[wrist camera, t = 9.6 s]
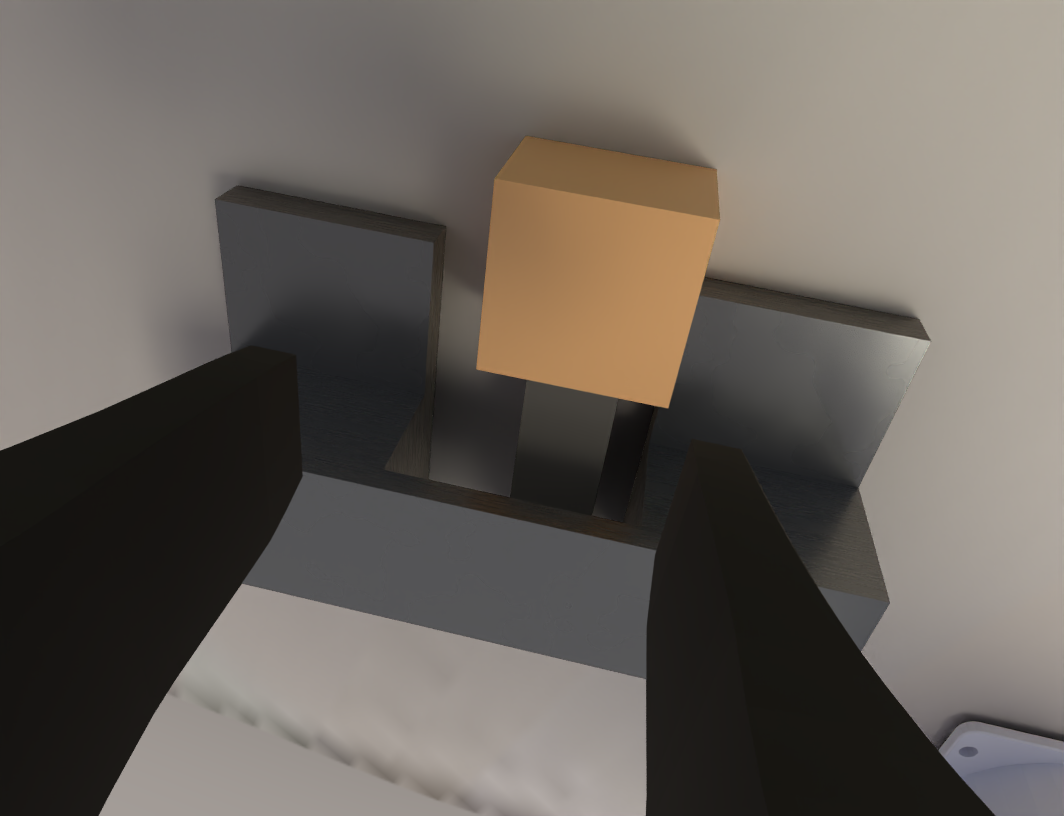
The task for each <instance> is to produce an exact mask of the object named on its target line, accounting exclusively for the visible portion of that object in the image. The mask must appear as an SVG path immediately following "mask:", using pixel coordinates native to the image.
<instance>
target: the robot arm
mask: <svg viewBox="0 0 1064 816" xmlns="http://www.w3.org/2000/svg"><path fill="white" fill-rule="evenodd" d="M302 477H303V471H302V453H301V434H300V416H299V397H298V379H297V360H296V355H295V354H290V353H286V352H281V351H276V350H271V349H267V348H262V347H257V346H253V345H251V346H248V347H245V348H243V349H240V350H237V351H235V352H232V353H230V354H227V355H225V356H222V357H220V358H218V359H215V360H213V361H211V362H208V363H206V364H204V365H202V366H199V367H197V368H195V369H193V370H190V371H188V372H186V373H184V374H182V375H179V376H177V377H175V378H173V379H171V380H168V381H166V382H164V383H162V384H159V385H157V386H155V387H153V388H150V389H148V390H146V391H144V392H141V393H139V394H137V395H135V396H132V397H130V398H128V399H126V400H123V401H121V402H119V403H117V404H114V405H112V406H110V407H108V408H105V409H103V410H101V411H98V412H96V413H94V414H91V415H89V416H86V417H84V418H81V419H79V420H76V421H74V422H71V423H69V424H66V425H64V426H61V427H59V428H56V429H54V430H51V431H49V432H46V433H44V434H41V435H39V436H36V437H34V438H31V439H29V440H26V441H24V442H21V443H19V444H17V445H14V446H12V447H9V448H6V449H4V450H1V451H0V816H99V814H100V812H101V810H102V808H103V806H104V804H105V802H106V800H107V798H108V796H109V794H110V793H111V791H112V789H113V787H114V785H115V783H116V782H117V780H118V778H119V776H120V774H121V772H122V771H123V769H124V767H125V765H126V763H127V761H128V760H129V758H130V756H131V754H132V752H133V751H134V749H135V747H136V745H137V743H138V742H139V740H140V738H141V736H142V734H143V733H144V731H145V729H146V727H147V725H148V723H149V722H150V720H151V718H152V716H153V714H154V713H155V711H156V710H157V708H158V707H159V705H160V703H161V702H162V700H163V699H164V697H165V695H166V694H167V692H168V691H169V689H170V688H171V686H172V684H173V683H174V681H175V680H176V678H177V677H178V675H179V674H180V672H181V671H182V670H183V668H184V667H185V665H186V664H187V662H188V661H189V659H190V658H191V656H192V655H193V654H194V652H195V651H196V649H197V648H198V646H199V645H200V643H201V642H202V641H203V639H204V638H205V636H206V635H207V633H208V632H209V630H210V629H211V627H212V626H213V625H214V623H215V622H216V620H217V619H218V617H219V616H220V614H221V613H222V612H223V610H224V609H225V607H226V606H227V604H228V603H229V601H230V600H231V599H232V597H233V596H234V594H235V593H236V591H237V590H238V588H239V587H240V585H241V584H242V582H243V581H244V580H245V578H246V577H247V575H248V574H249V572H250V571H251V569H252V568H253V566H254V565H255V563H256V562H257V560H258V559H259V557H260V556H261V554H262V553H263V551H264V550H265V548H266V547H267V545H268V544H269V542H270V541H271V539H272V537H273V535H274V533H275V531H276V530H277V528H278V526H279V524H280V522H281V520H282V518H283V516H284V514H285V512H286V510H287V508H288V506H289V504H290V502H291V500H292V498H293V496H294V494H295V492H296V489H297V487H298V485H299V483H300V481H301V479H302ZM646 759H647V800H646V816H1064V742H1063V741H1059V740H1055V739H1050V738H1046V737H1042V736H1037V735H1033V734H1029V733H1024V732H1020V731H1016V730H1012V729H1007V728H1003V727H999V726H994V725H990V724H986V723H982V722H975V721H970V722H965V723H962V724H960V725H959V726H958V727H956V728H955V730H954V731H953V732H952V733H951V735H950V736H949V737H948V739H947V740H946V741H945V742H944V744H943V745H942V746H941V748H940V749H939V750H937V749H936V748H935V747H934V745H933V744H932V743H931V742H930V741H929V739H928V738H927V737H926V736H925V734H924V733H923V732H922V731H921V729H920V728H919V727H918V726H917V724H916V723H915V722H914V721H913V719H912V718H911V717H910V715H909V714H908V713H907V712H906V710H905V709H904V708H903V707H902V705H901V704H900V703H899V702H898V700H897V699H896V698H895V697H894V695H893V694H892V693H891V692H890V690H889V689H888V688H887V687H886V685H885V684H884V683H883V681H882V680H881V679H880V677H879V676H878V675H877V673H876V672H875V671H874V669H873V668H872V667H871V665H870V664H869V663H868V661H867V660H866V658H865V657H864V656H863V654H862V653H861V651H860V650H859V648H858V647H857V646H856V644H855V643H854V641H853V640H852V638H851V637H850V635H849V634H848V632H847V631H846V629H845V628H844V626H843V625H842V623H841V622H840V620H839V619H838V617H837V616H836V614H835V613H834V611H833V610H832V608H831V607H830V605H829V603H828V602H827V600H826V599H825V597H824V596H823V594H822V593H821V591H820V589H819V588H818V586H817V584H816V583H815V581H814V579H813V578H812V576H811V574H810V573H809V571H808V569H807V568H806V566H805V564H804V563H803V561H802V559H801V558H800V556H799V554H798V553H797V551H796V549H795V548H794V546H793V544H792V542H791V541H790V539H789V537H788V535H787V533H786V532H785V530H784V528H783V526H782V524H781V523H780V521H779V519H778V517H777V515H776V513H775V512H774V510H773V508H772V506H771V504H770V502H769V500H768V498H767V497H766V495H765V493H764V491H763V489H762V487H761V485H760V483H759V481H758V479H757V477H756V475H755V473H754V471H753V470H752V468H751V466H750V464H749V462H748V460H747V458H746V457H745V455H744V453H743V452H742V450H741V449H738V448H733V447H728V446H724V445H719V444H714V443H709V442H705V441H700V440H695V439H692V440H691V443H690V446H689V449H688V452H687V455H686V459H685V462H684V465H683V468H682V471H681V474H680V478H679V481H678V484H677V487H676V490H675V493H674V497H673V500H672V503H671V506H670V509H669V512H668V516H667V519H666V522H665V525H664V528H663V531H662V534H661V538H660V541H659V544H658V547H657V550H656V553H655V558H654V567H653V575H652V583H651V591H650V600H649V609H648V618H647V630H646Z"/></svg>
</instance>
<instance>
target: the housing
mask: <svg viewBox="0 0 1064 816" xmlns="http://www.w3.org/2000/svg"><path fill="white" fill-rule="evenodd" d="M215 205H216V214H217V223H218V232H219V241H220V250H221V259H222V268H223V277H224V286H225V295H226V304H227V313H228V323H229V332H230V341H231V350H232V352H235V351H237V350H240V349H243V348H245V347H248V346H251V345H253V346H257V347H262V348H267V349H271V350H276V351H281V352H286V353H290V354H295V355H296V360H297V379H298V397H299V416H300V434H301V453H302V471H303V477H302V479H301V481H300V483H299V485H298V487H297V489H296V492H295V494H294V496H293V498H292V500H291V502H290V504H289V506H288V508H287V510H286V512H285V514H284V516H283V518H282V520H281V522H280V524H279V526H278V528H277V530H276V531H275V533H274V535H273V537H272V539H271V541H270V542H269V544H268V545H267V547H266V548H265V550H264V551H263V553H262V554H261V556H260V557H259V559H258V560H257V562H256V563H255V565H254V566H253V568H252V569H251V571H250V572H249V574H248V575H247V577H246V578H245V580H244V581H243V582H242V584H246V585H250V586H255V587H259V588H263V589H267V590H272V591H276V592H280V593H284V594H288V595H293V596H297V597H301V598H305V599H310V600H314V601H318V602H322V603H327V604H331V605H335V606H339V607H343V608H348V609H352V610H356V611H360V612H365V613H369V614H373V615H377V616H382V617H386V618H390V619H394V620H398V621H403V622H407V623H411V624H415V625H420V626H424V627H428V628H432V629H437V630H441V631H445V632H449V633H453V634H458V635H462V636H466V637H470V638H475V639H479V640H483V641H487V642H492V643H496V644H500V645H504V646H508V647H513V648H517V649H521V650H525V651H530V652H534V653H538V654H542V655H547V656H551V657H555V658H559V659H563V660H568V661H572V662H576V663H580V664H585V665H589V666H593V667H597V668H602V669H606V670H610V671H614V672H618V673H623V674H627V675H631V676H635V677H640V678H644V679H646V630H647V618H648V609H649V600H650V591H651V583H652V575H653V567H654V558H655V553H656V550H657V547H658V544H659V541H660V538H661V534H662V531H663V528H664V525H665V522H666V519H667V516H668V512H669V509H670V506H671V503H672V500H673V497H674V493H675V490H676V487H677V484H678V481H679V478H680V474H681V471H682V468H683V465H684V462H685V459H686V455H687V452H688V449H689V446H690V443H691V440H692V439H695V440H700V441H705V442H709V443H714V444H719V445H724V446H728V447H733V448H738V449H741V450H742V452H743V453H744V455H745V457H746V458H747V460H748V462H749V464H750V466H751V468H752V470H753V471H754V473H755V475H756V477H757V479H758V481H759V483H760V485H761V487H762V489H763V491H764V493H765V495H766V497H767V498H768V500H769V502H770V504H771V506H772V508H773V510H774V512H775V513H776V515H777V517H778V519H779V521H780V523H781V524H782V526H783V528H784V530H785V532H786V533H787V535H788V537H789V539H790V541H791V542H792V544H793V546H794V548H795V549H796V551H797V553H798V554H799V556H800V558H801V559H802V561H803V563H804V564H805V566H806V568H807V569H808V571H809V573H810V574H811V576H812V578H813V579H814V581H815V583H816V584H817V586H818V588H819V589H820V591H821V593H822V594H823V596H824V597H825V599H826V600H827V602H828V603H829V605H830V607H831V608H832V610H833V611H834V613H835V614H836V616H837V617H838V619H839V620H840V622H841V623H842V625H843V626H844V628H845V629H846V631H847V632H848V634H849V635H850V637H851V638H852V640H853V641H854V643H855V644H856V646H857V647H858V648H859V650H860V651H862V649H863V647H864V646H865V644H866V642H867V641H868V639H869V637H870V635H871V634H872V632H873V630H874V629H875V627H876V625H877V624H878V622H879V620H880V619H881V617H882V615H883V614H884V612H885V610H886V609H887V607H888V605H889V604H890V601H889V597H888V594H887V590H886V586H885V583H884V579H883V576H882V572H881V568H880V565H879V561H878V557H877V554H876V550H875V546H874V543H873V539H872V535H871V532H870V528H869V524H868V521H867V517H866V513H865V510H864V506H863V502H862V499H861V495H860V492H859V488H858V487H859V485H860V483H861V481H862V479H863V477H864V475H865V473H866V471H867V469H868V467H869V465H870V463H871V461H872V459H873V457H874V455H875V453H876V451H877V449H878V447H879V445H880V443H881V441H882V439H883V437H884V435H885V433H886V431H887V429H888V427H889V425H890V423H891V421H892V419H893V417H894V415H895V413H896V411H897V409H898V407H899V405H900V403H901V401H902V399H903V397H904V395H905V393H906V391H907V389H908V387H909V385H910V383H911V381H912V379H913V377H914V375H915V373H916V371H917V369H918V367H919V365H920V363H921V361H922V359H923V357H924V355H925V353H926V351H927V349H928V346H929V344H930V342H931V341H930V339H929V337H928V335H927V333H926V331H925V329H924V327H923V325H922V323H921V322H920V320H919V319H914V318H909V317H904V316H899V315H894V314H889V313H884V312H879V311H873V310H868V309H863V308H858V307H853V306H848V305H843V304H838V303H833V302H828V301H823V300H817V299H812V298H807V297H802V296H797V295H792V294H787V293H782V292H777V291H772V290H767V289H761V288H756V287H751V286H746V285H741V284H736V283H731V282H726V281H721V280H716V279H711V278H705V277H704V280H703V283H702V287H701V291H700V294H699V298H698V302H697V305H696V309H695V313H694V316H693V320H692V323H691V327H690V331H689V334H688V338H687V342H686V345H685V349H684V353H683V356H682V360H681V364H680V367H679V371H678V374H677V378H676V382H675V385H674V389H673V393H672V396H671V400H670V404H669V407H668V408H664V407H659V406H655V408H654V411H653V415H652V419H651V422H650V426H649V430H648V433H647V437H646V441H645V444H644V448H643V452H642V455H641V459H640V463H639V466H638V470H637V474H636V477H635V481H634V485H633V488H632V492H631V496H630V499H629V503H628V507H627V510H626V514H625V518H624V521H623V523H622V522H617V521H613V520H608V519H604V518H599V517H595V516H590V515H586V514H581V513H577V512H572V511H568V510H563V509H559V508H554V507H550V506H545V505H541V504H536V503H532V502H527V501H523V500H518V499H514V498H509V497H505V496H500V495H496V494H491V493H487V492H482V491H478V490H473V489H469V488H464V487H460V486H455V485H451V484H446V483H442V482H437V481H433V480H429V466H430V451H431V437H432V423H433V408H434V394H435V380H436V365H437V351H438V337H439V322H440V308H441V294H442V279H443V265H444V251H445V236H446V226H441V225H436V224H431V223H426V222H421V221H415V220H410V219H405V218H400V217H395V216H390V215H385V214H380V213H375V212H370V211H365V210H359V209H354V208H349V207H344V206H339V205H334V204H329V203H324V202H319V201H314V200H309V199H304V198H298V197H293V196H288V195H283V194H278V193H273V192H268V191H263V190H258V189H253V188H248V187H242V186H236V187H234V188H232V189H231V190H229V191H228V192H226V193H224V194H223V195H221V196H220V197H218V198H216V199H215Z"/></svg>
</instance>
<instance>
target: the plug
mask: <svg viewBox="0 0 1064 816" xmlns="http://www.w3.org/2000/svg"><path fill="white" fill-rule="evenodd" d="M719 222H720V213H719V198H718V183H717V169H711V168H705V167H700V166H694V165H688V164H683V163H677V162H672V161H666V160H660V159H655V158H649V157H643V156H638V155H632V154H626V153H621V152H615V151H609V150H604V149H598V148H592V147H587V146H581V145H575V144H570V143H564V142H559V141H553V140H547V139H542V138H536V137H530V136H525V138H524V139H523V140H522V142H521V143H520V144H519V146H518V147H517V148H516V150H515V151H514V153H513V154H512V155H511V157H510V158H509V159H508V161H507V162H506V164H505V165H504V166H503V168H502V169H501V170H500V172H499V173H498V175H497V176H496V177H495V179H494V189H493V199H492V210H491V220H490V231H489V241H488V252H487V262H486V273H485V283H484V294H483V304H482V315H481V325H480V336H479V346H478V357H477V367H476V369H477V370H482V371H487V372H491V373H496V374H501V375H506V376H511V377H516V378H521V379H526V380H527V381H526V388H525V395H524V402H523V409H522V417H521V424H520V431H519V438H518V445H517V452H516V459H515V466H514V473H513V480H512V487H511V494H510V498H514V499H518V500H523V501H527V502H532V503H536V504H541V505H545V506H550V507H554V508H559V509H563V510H568V511H572V512H577V513H581V514H586V515H590V516H592V513H593V508H594V504H595V500H596V495H597V491H598V486H599V482H600V477H601V473H602V469H603V464H604V460H605V455H606V451H607V447H608V442H609V438H610V433H611V429H612V425H613V420H614V416H615V411H616V407H617V403H618V398H619V399H624V400H629V401H634V402H639V403H644V404H649V405H654V406H659V407H664V408H668V407H669V404H670V400H671V396H672V393H673V389H674V385H675V382H676V378H677V374H678V371H679V367H680V364H681V360H682V356H683V353H684V349H685V345H686V342H687V338H688V334H689V331H690V327H691V323H692V320H693V316H694V313H695V309H696V305H697V302H698V298H699V294H700V291H701V287H702V283H703V280H704V276H705V273H706V269H707V265H708V262H709V258H710V254H711V251H712V247H713V243H714V240H715V236H716V232H717V229H718V225H719Z"/></svg>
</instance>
